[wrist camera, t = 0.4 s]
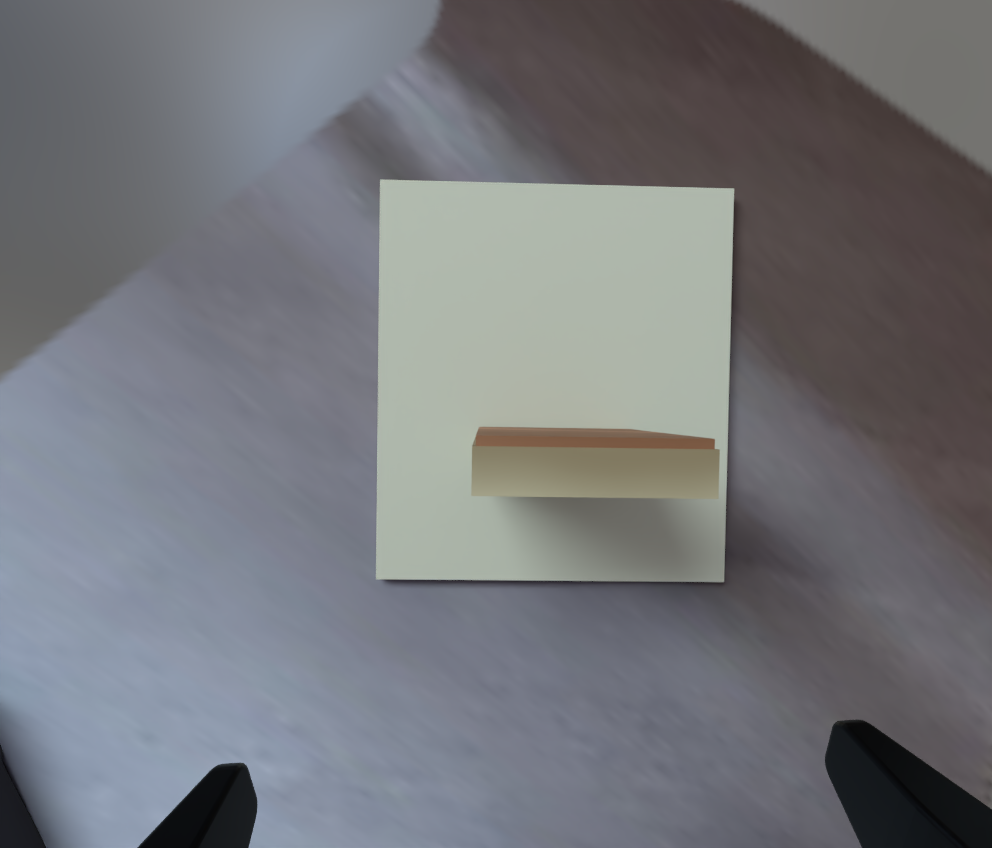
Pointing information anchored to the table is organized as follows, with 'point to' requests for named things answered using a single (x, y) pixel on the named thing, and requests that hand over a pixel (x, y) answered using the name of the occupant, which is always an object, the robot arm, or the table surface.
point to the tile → (593, 463)
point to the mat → (547, 370)
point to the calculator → (15, 817)
